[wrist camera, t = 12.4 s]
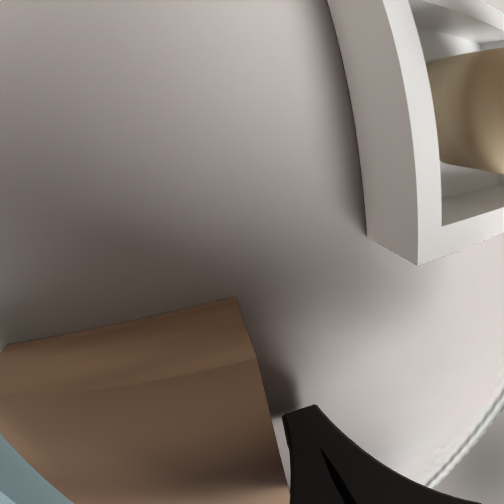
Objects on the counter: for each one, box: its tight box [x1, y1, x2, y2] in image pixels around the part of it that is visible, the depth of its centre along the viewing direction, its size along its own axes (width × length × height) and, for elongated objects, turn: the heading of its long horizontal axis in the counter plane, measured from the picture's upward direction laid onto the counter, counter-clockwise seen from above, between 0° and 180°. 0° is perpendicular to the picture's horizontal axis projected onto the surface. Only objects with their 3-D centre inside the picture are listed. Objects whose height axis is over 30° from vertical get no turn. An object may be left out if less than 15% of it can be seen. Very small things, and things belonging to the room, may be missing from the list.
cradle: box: [327, 0, 504, 266], centre depth 7 cm, size 7×7×2 cm
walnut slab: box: [0, 297, 290, 504], centre depth 9 cm, size 10×8×3 cm
